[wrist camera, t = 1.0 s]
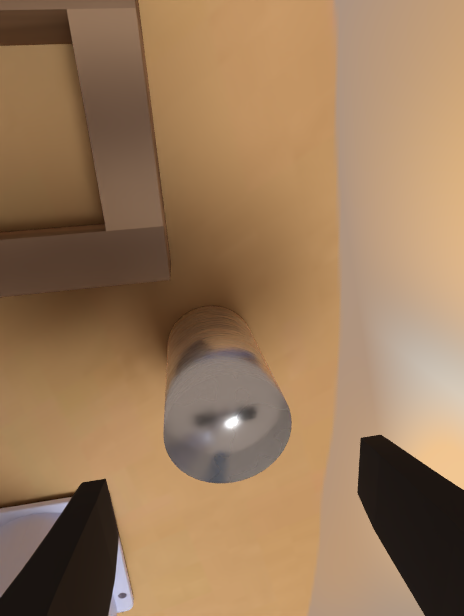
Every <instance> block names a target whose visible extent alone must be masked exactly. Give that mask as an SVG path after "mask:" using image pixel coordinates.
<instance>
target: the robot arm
mask: <svg viewBox="0 0 464 616" xmlns="http://www.w3.org/2000/svg"><path fill="white" fill-rule="evenodd" d="M358 495H359V497H360V499H361V501H362V504H363V506H364V509H365V511H366V513H367V515H368V517H369V519H370V522H371V524H372V526H373V528H374V530H375V532H376V534H377V535H378V537H379V539H380V540H381V542H382V544H383V545H384V547H385V549H386V551H387V552H388V554H389V556H390V557H391V559H392V561H393V563H394V564H395V566H396V568H397V569H398V571H399V573H400V574H401V576H402V578H403V579H404V581H405V583H406V584H407V586H408V588H409V589H410V591H411V593H412V594H413V596H414V598H415V600H416V601H417V603H418V605H419V606H420V608H421V610H422V611H423V613H424V615H425V616H464V490H463V489H461V488H459V487H458V486H456V485H455V484H453V483H452V482H450V481H449V480H447V479H445V478H444V477H443V476H441V475H440V474H438V473H437V472H435V471H433V470H432V469H431V468H429V467H428V466H426V465H425V464H423V463H422V462H420V461H419V460H417V459H416V458H414V457H413V456H412V455H410V454H409V453H407V452H406V451H404V450H402V449H401V448H400V447H398V446H397V445H395V444H394V443H393V442H391V441H390V440H388V439H386V438H385V437H383V436H382V435H376V436H370V437H363V438H361V443H360V460H359V478H358ZM133 600H134V598H133V594H132V590H131V585H130V581H129V577H128V572H127V568H126V564H125V559H124V555H123V551H122V546H121V542H120V538H119V533H118V529H117V525H116V520H115V516H114V512H113V507H112V503H111V499H110V495H109V490H108V486H107V482H106V479H102V480H96V481H89V482H83V483H82V484H81V485H80V486H79V487H78V489H77V490H76V492H75V493H74V495H73V496H72V497H68V498H62V499H56V500H50V501H44V502H37V503H31V504H25V505H19V506H13V507H7V508H1V509H0V616H117V613H119V612H124V611H128V610H130V609H131V608H132V607H133Z"/></svg>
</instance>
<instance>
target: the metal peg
mask: <svg viewBox="0 0 464 616" xmlns="http://www.w3.org/2000/svg"><path fill="white" fill-rule="evenodd" d="M291 423H292V422H291V414H290V410H289V407H288V405H287V403H286V401H285V399H284V397H283V395H282V393H281V391H280V389H279V387H278V385H277V383H276V381H275V379H274V377H273V375H272V373H271V371H270V369H269V367H268V365H267V363H266V361H265V359H264V357H263V355H262V353H261V351H260V349H259V347H258V345H257V343H256V341H255V339H254V337H253V335H252V333H251V331H250V329H249V327H248V325H247V324H246V322H245V321H244V320H243V319H242V318H241V317H240V316H239V315H238V314H237V313H235V312H234V311H232V310H230V309H227V308H224V307H219V306H205V307H200V308H196V309H194V310H192V311H190V312H188V313H186V314H185V315H184V316H182V317H181V318H180V319H179V320H178V321H177V322H176V324H175V325H174V326H173V328H172V330H171V332H170V335H169V339H168V347H167V370H166V392H165V414H164V443H165V447H166V450H167V453H168V455H169V457H170V458H171V460H172V461H173V463H174V464H175V465H176V466H177V467H178V468H179V469H180V470H181V471H183V472H184V473H186V474H187V475H189V476H191V477H193V478H195V479H198V480H201V481H205V482H210V483H231V482H237V481H241V480H244V479H247V478H250V477H252V476H254V475H256V474H258V473H260V472H262V471H263V470H265V469H266V468H267V467H269V466H270V465H271V464H272V463H273V462H274V461H275V460H276V459H277V458H278V457H279V456H280V454H281V453H282V451H283V450H284V448H285V446H286V444H287V442H288V439H289V437H290V432H291Z"/></svg>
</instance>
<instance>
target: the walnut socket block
mask: <svg viewBox="0 0 464 616" xmlns="http://www.w3.org/2000/svg"><path fill="white" fill-rule="evenodd" d="M37 44H73V48H74V54H75V59H76V65H77V71H78V76H79V82H80V87H81V93H82V99H83V104H84V110H85V115H86V121H87V126H88V132H89V138H90V143H91V149H92V154H93V160H94V166H95V171H96V177H97V182H98V188H99V194H100V199H101V205H102V210H103V216H104V221H105V224H94V225H82V226H70V227H58V228H46V229H34V230H22V231H9V232H0V297H7V296H17V295H27V294H37V293H47V292H56V291H66V290H76V289H86V288H96V287H106V286H115V285H125V284H135V283H145V282H155V281H165V280H170V272H171V261H170V253H169V245H168V237H167V229H166V221H165V213H164V205H163V197H162V189H161V181H160V173H159V165H158V157H157V148H156V140H155V132H154V124H153V116H152V108H151V100H150V92H149V84H148V76H147V68H146V60H145V52H144V44H143V36H142V28H141V20H140V12H139V4H138V0H0V45H37Z"/></svg>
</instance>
